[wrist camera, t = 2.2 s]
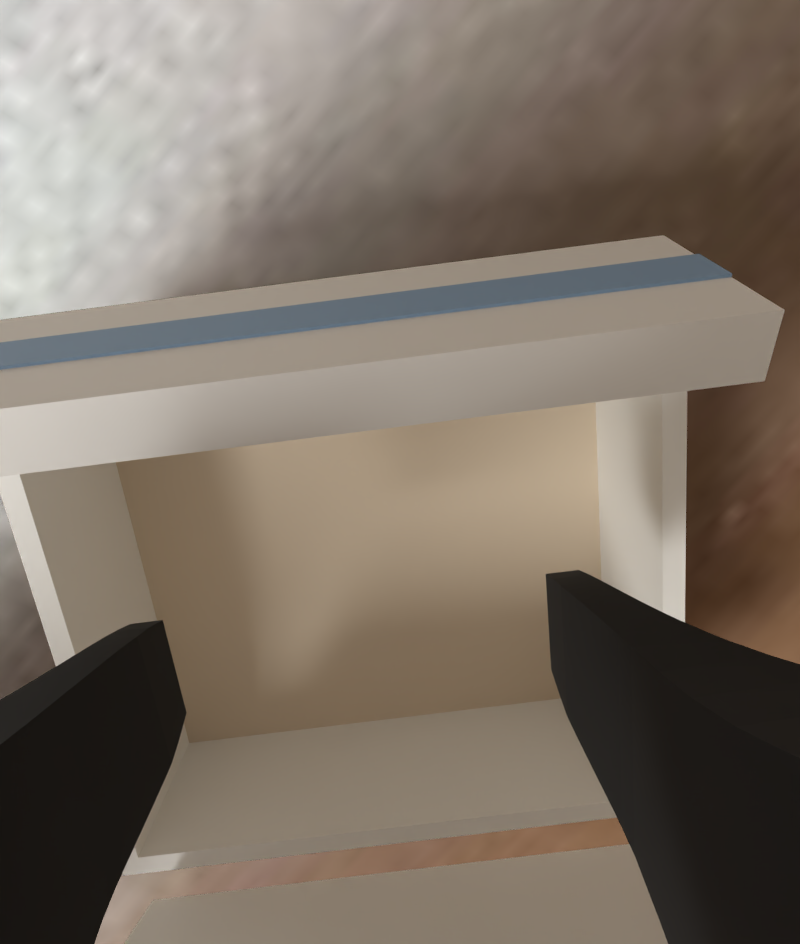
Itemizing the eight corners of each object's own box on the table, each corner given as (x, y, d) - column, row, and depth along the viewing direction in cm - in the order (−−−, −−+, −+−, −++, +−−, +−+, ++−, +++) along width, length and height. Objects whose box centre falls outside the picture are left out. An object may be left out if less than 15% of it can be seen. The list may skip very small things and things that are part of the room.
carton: (182, 746, 19) (123, 875, 15) (83, 374, 16) (-31, 400, 12) (615, 694, 19) (683, 809, 15) (605, 308, 16) (687, 309, 11)
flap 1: (-137, 493, 8) (-191, 428, 8) (-9, 375, 11) (-40, 321, 10) (764, 380, 8) (785, 306, 7) (655, 291, 11) (664, 232, 10)
